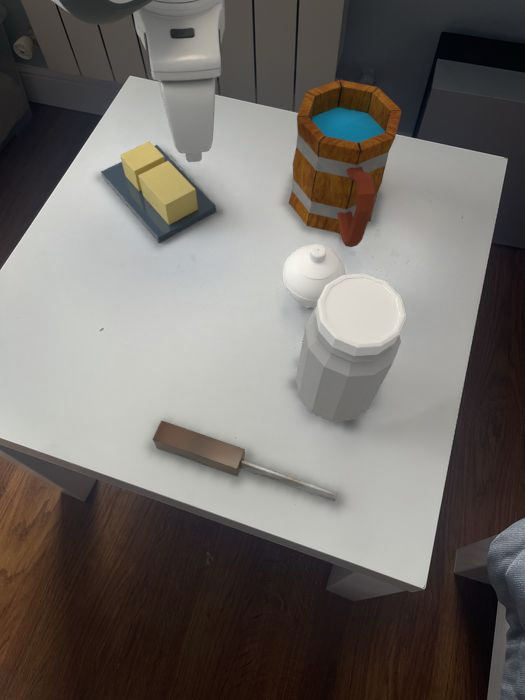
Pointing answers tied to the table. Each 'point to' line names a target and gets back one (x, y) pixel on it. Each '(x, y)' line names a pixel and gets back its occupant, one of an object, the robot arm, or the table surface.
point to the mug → (342, 156)
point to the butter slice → (140, 162)
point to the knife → (220, 455)
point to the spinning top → (311, 273)
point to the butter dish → (146, 210)
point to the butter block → (168, 192)
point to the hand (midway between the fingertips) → (190, 130)
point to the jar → (349, 346)
